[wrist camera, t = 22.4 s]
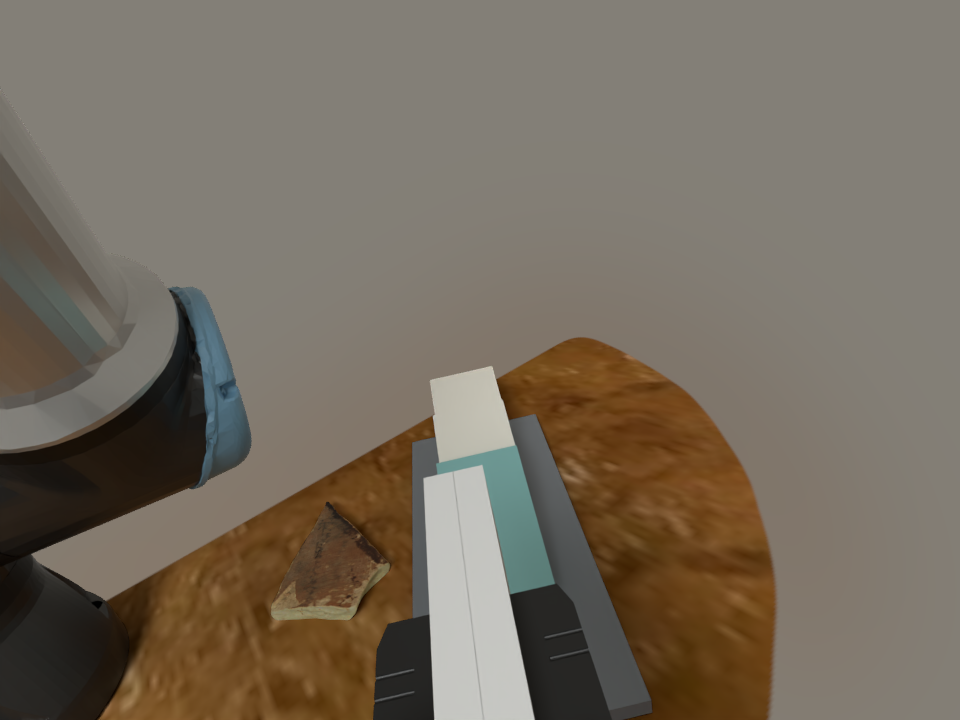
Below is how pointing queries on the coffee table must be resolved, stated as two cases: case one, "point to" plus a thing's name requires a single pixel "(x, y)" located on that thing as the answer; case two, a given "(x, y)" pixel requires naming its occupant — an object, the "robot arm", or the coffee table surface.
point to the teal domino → (511, 516)
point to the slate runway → (565, 558)
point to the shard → (329, 572)
